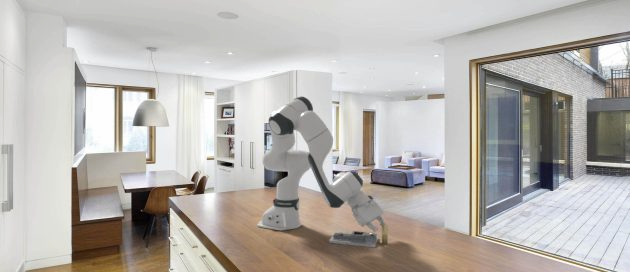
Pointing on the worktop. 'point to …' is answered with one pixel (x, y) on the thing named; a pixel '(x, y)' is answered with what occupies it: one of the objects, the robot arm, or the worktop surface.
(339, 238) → the chain jig
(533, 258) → the worktop surface
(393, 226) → the worktop surface
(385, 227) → the brass pin
